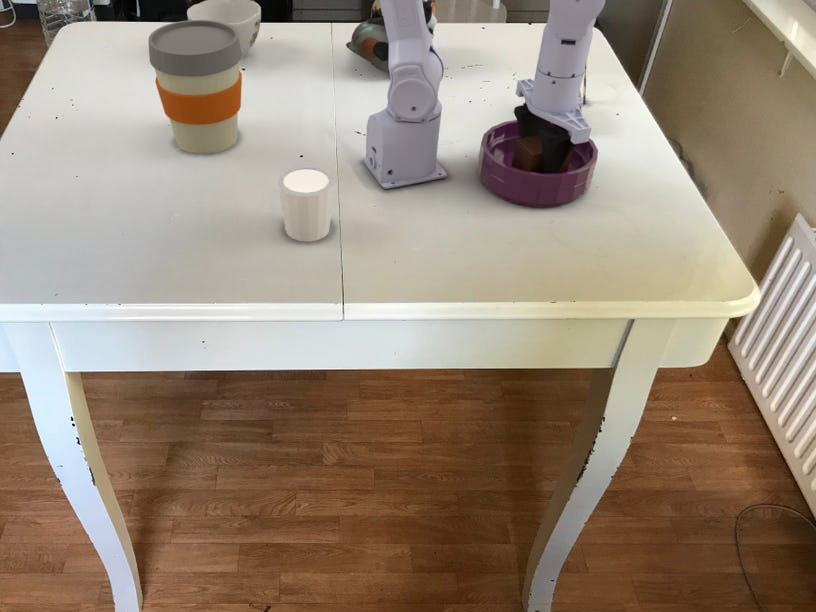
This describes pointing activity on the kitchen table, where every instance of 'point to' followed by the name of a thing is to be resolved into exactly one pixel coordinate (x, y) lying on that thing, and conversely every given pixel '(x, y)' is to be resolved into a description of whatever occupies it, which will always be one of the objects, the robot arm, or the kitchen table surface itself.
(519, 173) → the bowl
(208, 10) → the teacup
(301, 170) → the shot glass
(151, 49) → the reusable coffee cup
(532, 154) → the eraser
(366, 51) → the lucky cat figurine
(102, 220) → the kitchen table surface
